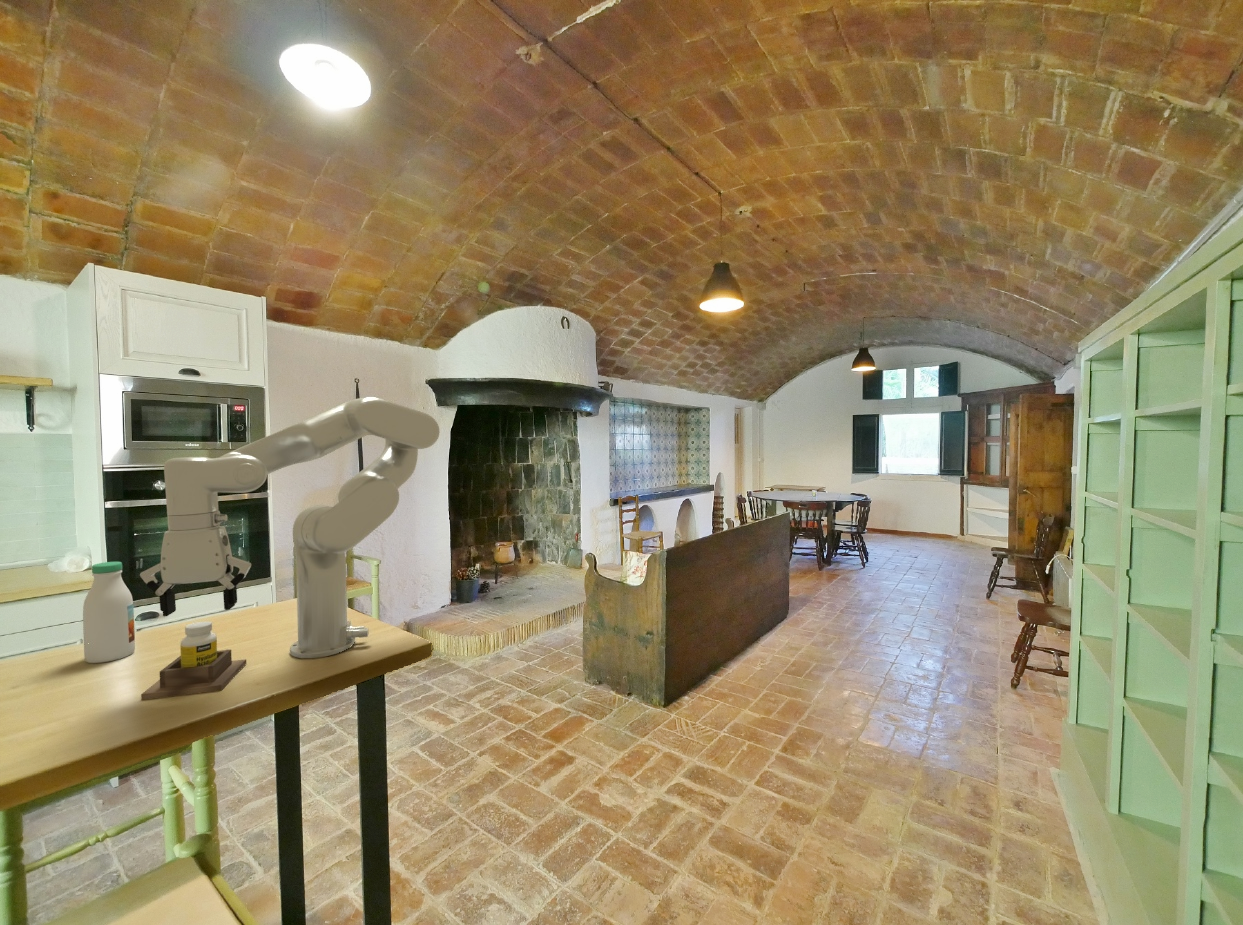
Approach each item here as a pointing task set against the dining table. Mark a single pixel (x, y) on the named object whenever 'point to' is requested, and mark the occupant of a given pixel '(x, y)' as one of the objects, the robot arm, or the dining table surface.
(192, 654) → the supplement bottle
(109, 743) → the dining table surface
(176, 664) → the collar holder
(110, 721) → the dining table surface
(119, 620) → the milk bottle
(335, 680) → the dining table surface
